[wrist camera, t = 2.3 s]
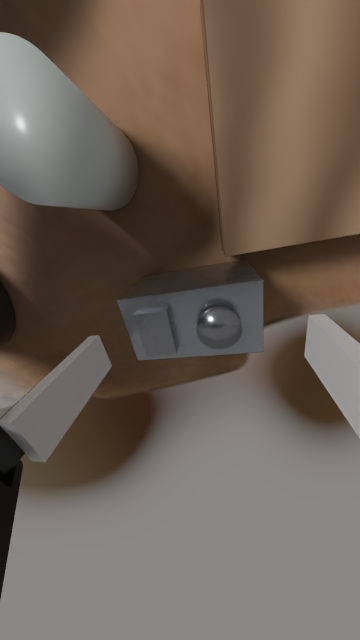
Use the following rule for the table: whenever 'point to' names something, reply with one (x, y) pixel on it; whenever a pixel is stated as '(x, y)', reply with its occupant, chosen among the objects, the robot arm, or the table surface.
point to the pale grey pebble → (58, 137)
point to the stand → (284, 119)
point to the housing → (195, 312)
